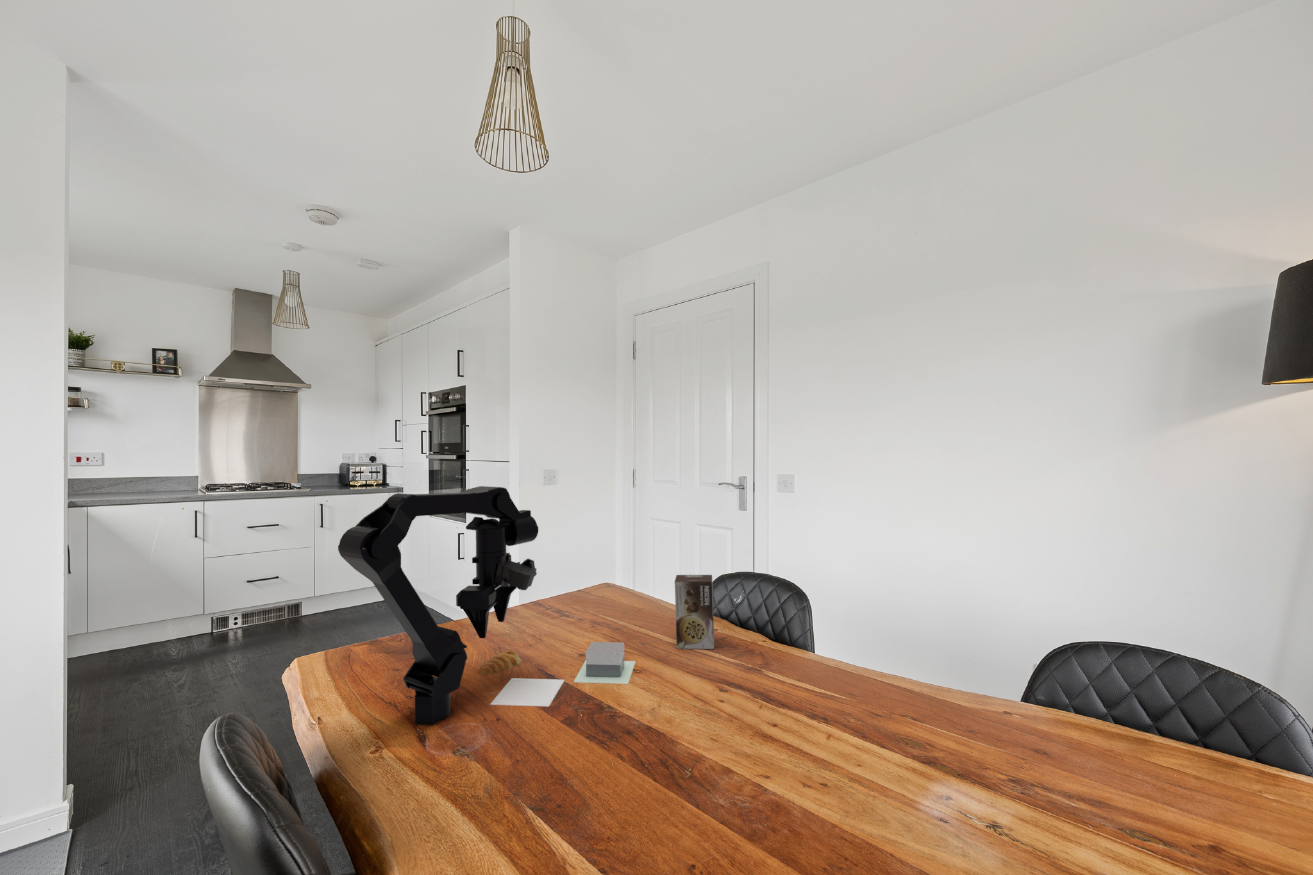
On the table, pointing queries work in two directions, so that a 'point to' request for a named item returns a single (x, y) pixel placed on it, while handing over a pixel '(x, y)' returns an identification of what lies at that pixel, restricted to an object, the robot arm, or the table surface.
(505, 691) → the stand
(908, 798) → the table surface
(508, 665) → the pastry
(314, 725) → the table surface
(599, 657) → the block
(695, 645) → the coffee box
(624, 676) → the stand
